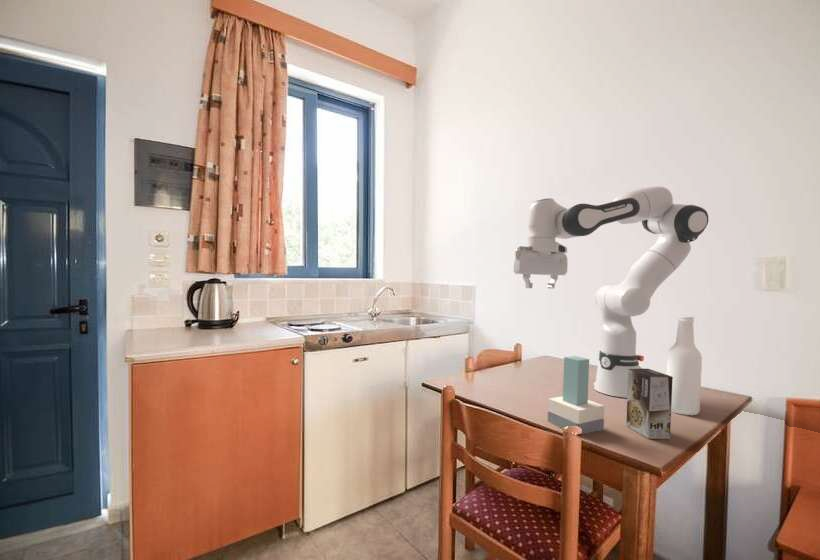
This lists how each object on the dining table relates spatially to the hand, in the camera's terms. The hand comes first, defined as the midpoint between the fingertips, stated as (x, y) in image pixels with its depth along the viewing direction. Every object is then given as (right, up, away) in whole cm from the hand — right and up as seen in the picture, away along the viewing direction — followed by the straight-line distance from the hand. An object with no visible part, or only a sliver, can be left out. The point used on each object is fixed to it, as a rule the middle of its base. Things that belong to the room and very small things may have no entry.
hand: (540, 288), depth 129 cm
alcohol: (+42, -39, -9) cm, 57 cm away
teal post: (+1, -31, -24) cm, 39 cm away
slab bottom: (+1, -38, -24) cm, 45 cm away
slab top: (+2, -34, -24) cm, 42 cm away
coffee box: (+20, -38, -27) cm, 50 cm away
